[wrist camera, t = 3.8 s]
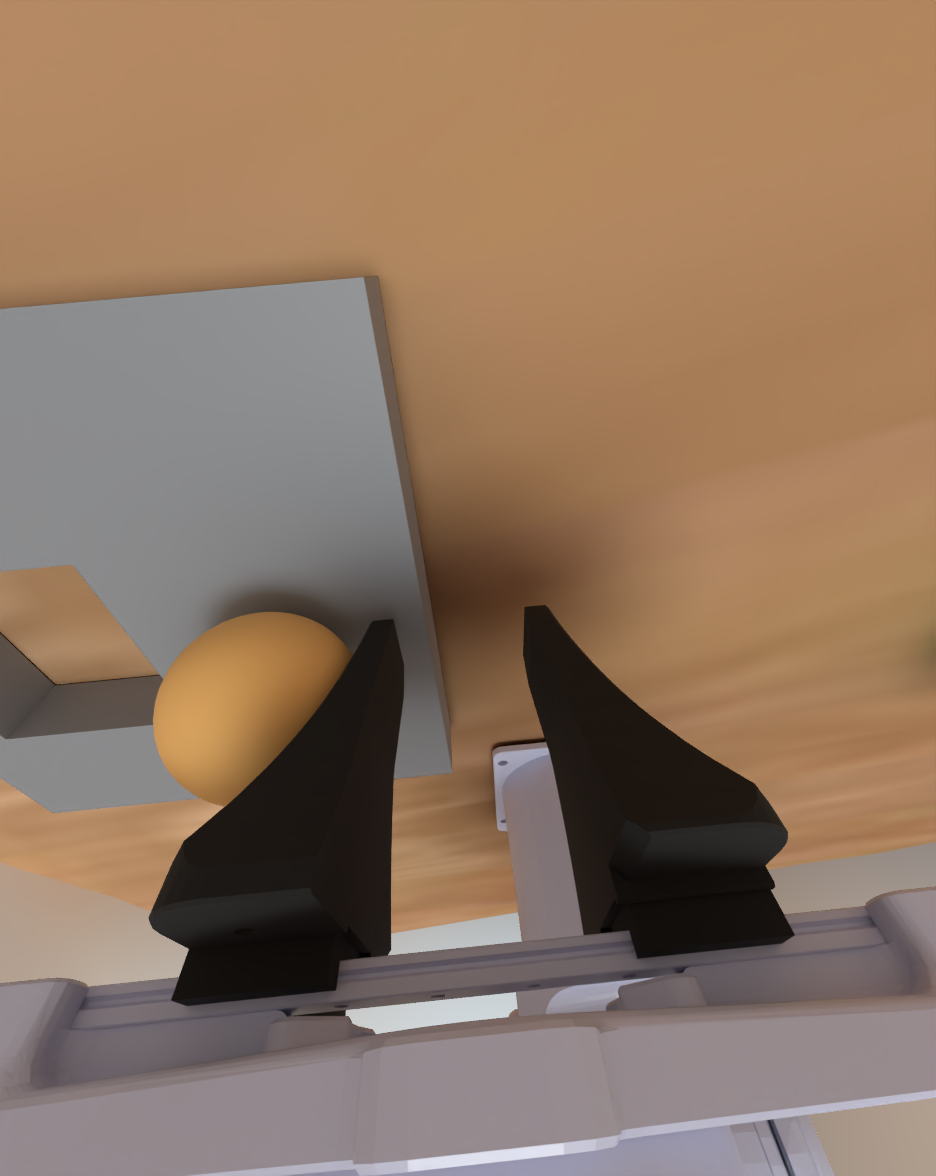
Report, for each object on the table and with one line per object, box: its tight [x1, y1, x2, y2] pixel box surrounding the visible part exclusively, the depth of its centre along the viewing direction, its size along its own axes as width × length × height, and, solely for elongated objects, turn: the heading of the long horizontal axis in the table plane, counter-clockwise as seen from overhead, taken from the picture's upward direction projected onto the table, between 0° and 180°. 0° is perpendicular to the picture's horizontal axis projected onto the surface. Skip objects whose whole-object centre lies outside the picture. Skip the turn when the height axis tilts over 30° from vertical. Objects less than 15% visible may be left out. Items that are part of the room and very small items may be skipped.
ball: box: [153, 612, 352, 806], centre depth 11 cm, size 5×5×5 cm
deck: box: [0, 276, 452, 813], centre depth 14 cm, size 18×18×2 cm
